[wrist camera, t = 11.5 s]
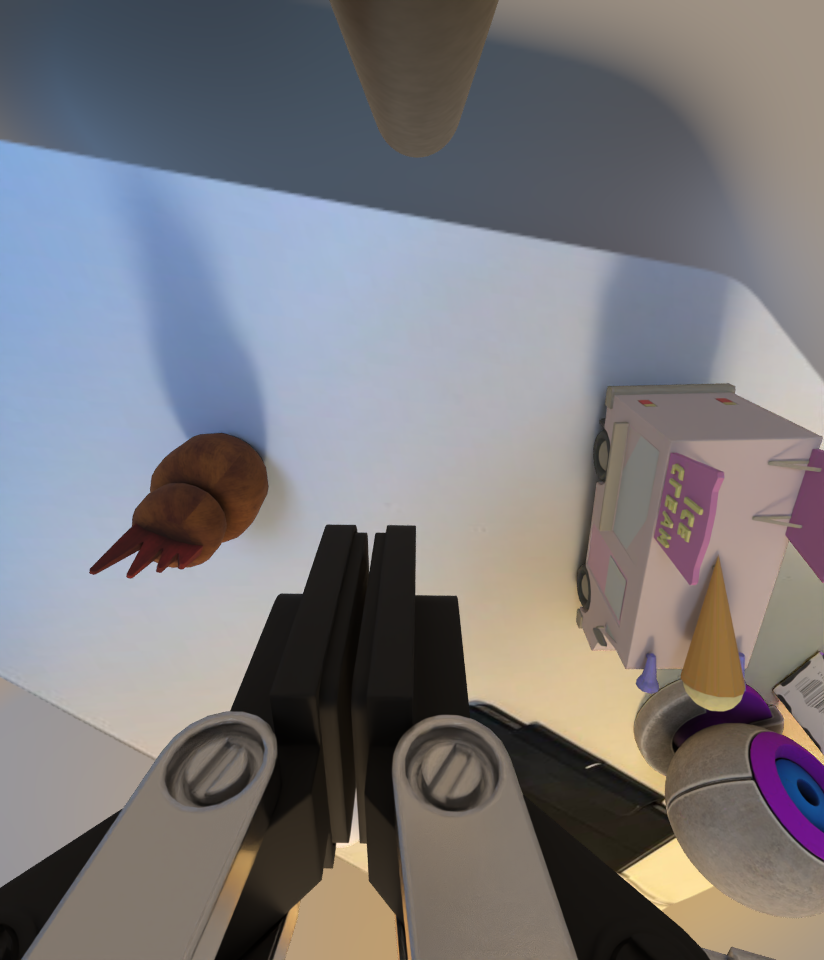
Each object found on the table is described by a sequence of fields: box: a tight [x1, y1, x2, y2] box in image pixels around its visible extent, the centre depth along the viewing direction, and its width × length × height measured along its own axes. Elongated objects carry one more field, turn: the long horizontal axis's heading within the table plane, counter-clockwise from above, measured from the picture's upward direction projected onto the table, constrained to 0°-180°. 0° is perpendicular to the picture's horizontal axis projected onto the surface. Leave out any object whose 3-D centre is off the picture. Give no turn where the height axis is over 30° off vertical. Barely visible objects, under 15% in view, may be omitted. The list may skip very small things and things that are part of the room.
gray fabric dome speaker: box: [634, 680, 824, 918], centre depth 42 cm, size 13×13×15 cm
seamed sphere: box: [336, 793, 360, 848], centre depth 49 cm, size 10×7×7 cm
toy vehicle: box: [576, 383, 824, 711], centre depth 32 cm, size 9×20×15 cm, turn 2°
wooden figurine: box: [89, 433, 268, 578], centre depth 32 cm, size 7×6×15 cm
